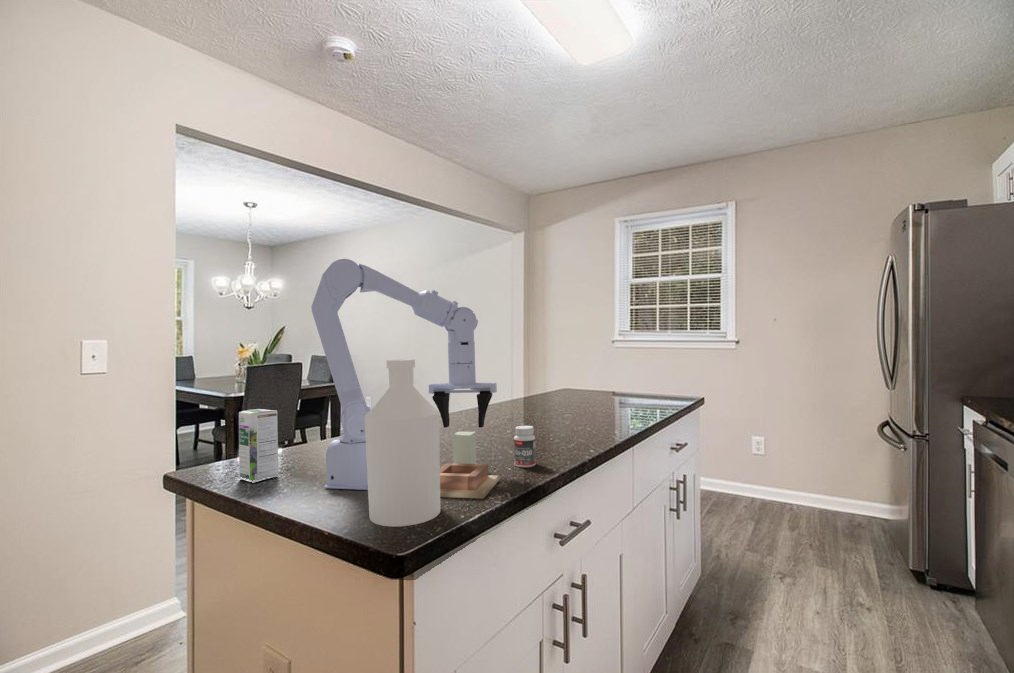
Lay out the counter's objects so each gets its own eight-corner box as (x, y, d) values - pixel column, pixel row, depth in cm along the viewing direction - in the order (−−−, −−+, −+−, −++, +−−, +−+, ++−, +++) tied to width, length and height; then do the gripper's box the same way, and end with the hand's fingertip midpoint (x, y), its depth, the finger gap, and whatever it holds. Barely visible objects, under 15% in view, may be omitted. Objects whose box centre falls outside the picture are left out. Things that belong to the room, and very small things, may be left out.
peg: (453, 473, 103) (451, 435, 103) (459, 468, 107) (458, 431, 107) (471, 473, 102) (470, 435, 102) (476, 468, 106) (475, 431, 106)
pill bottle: (513, 467, 106) (511, 429, 106) (516, 462, 111) (515, 425, 111) (534, 467, 105) (533, 429, 105) (537, 462, 110) (535, 425, 110)
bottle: (410, 496, 88) (406, 358, 88) (457, 509, 80) (452, 358, 81) (352, 516, 79) (348, 361, 79) (398, 533, 71) (393, 361, 71)
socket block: (419, 495, 88) (419, 476, 88) (441, 478, 99) (440, 461, 99) (483, 498, 86) (482, 478, 86) (498, 480, 96) (498, 462, 96)
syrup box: (238, 480, 103) (236, 411, 103) (265, 473, 107) (263, 407, 108) (252, 484, 99) (250, 413, 99) (280, 477, 104) (278, 409, 104)
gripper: (423, 365, 102) (425, 430, 102) (491, 363, 100) (493, 430, 100) (433, 363, 109) (435, 424, 109) (497, 361, 107) (499, 424, 107)
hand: (463, 426), depth 105 cm, fingers open, 7 cm apart
